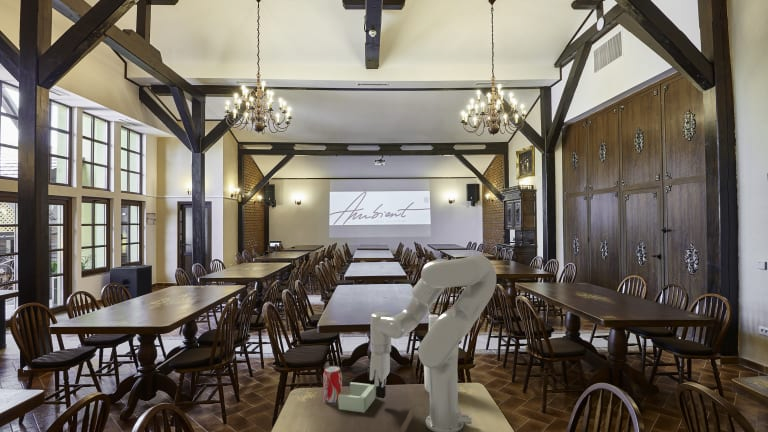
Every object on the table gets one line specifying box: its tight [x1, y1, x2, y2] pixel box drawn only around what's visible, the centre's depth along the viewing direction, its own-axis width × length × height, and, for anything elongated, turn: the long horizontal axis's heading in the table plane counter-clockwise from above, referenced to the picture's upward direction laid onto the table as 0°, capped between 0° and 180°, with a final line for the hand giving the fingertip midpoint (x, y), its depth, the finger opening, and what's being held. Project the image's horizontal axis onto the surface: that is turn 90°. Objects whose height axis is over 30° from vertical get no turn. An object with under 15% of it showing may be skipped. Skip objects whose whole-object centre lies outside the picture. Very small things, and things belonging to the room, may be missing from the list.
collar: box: [338, 381, 377, 413], centre depth 152 cm, size 10×12×5 cm
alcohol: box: [423, 314, 440, 393], centre depth 166 cm, size 9×9×30 cm
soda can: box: [322, 365, 343, 403], centre depth 156 cm, size 7×7×12 cm
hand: (380, 396), depth 150 cm, fingers closed
